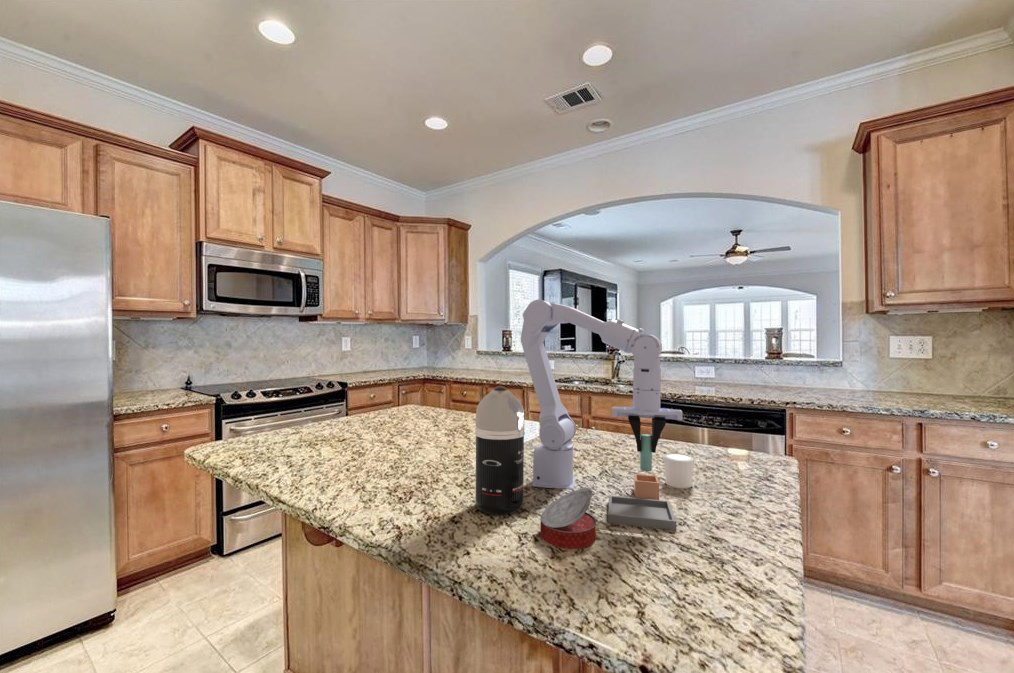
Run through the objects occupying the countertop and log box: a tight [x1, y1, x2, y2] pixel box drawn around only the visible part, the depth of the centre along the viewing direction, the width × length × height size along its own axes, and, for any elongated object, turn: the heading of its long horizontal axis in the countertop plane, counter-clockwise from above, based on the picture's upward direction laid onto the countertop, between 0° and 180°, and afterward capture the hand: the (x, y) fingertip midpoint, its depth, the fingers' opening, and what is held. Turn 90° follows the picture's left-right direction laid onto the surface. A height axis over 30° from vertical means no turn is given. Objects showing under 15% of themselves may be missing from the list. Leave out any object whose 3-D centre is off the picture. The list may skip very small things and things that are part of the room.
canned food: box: [539, 487, 597, 550], centre depth 77 cm, size 11×10×10 cm
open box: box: [633, 473, 660, 500], centre depth 96 cm, size 5×5×4 cm
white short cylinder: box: [663, 452, 695, 489], centre depth 102 cm, size 7×7×7 cm
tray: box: [607, 495, 677, 531], centre depth 84 cm, size 12×10×2 cm
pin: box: [639, 433, 653, 472], centre depth 94 cm, size 2×2×8 cm
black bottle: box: [474, 385, 526, 516], centre depth 89 cm, size 10×10×25 cm
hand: (646, 450), depth 94 cm, fingers closed on pin, 2 cm apart
